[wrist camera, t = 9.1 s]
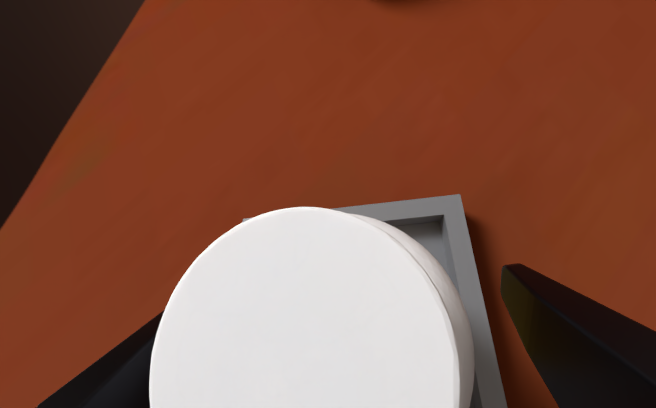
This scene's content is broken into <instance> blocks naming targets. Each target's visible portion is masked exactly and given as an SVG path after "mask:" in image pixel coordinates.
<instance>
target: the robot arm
mask: <svg viewBox="0 0 656 408" xmlns="http://www.w3.org/2000/svg"><path fill="white" fill-rule="evenodd" d="M501 295H502V298H503V301H504V303H505V305H506V307H507V309H508V312H509V314H510V316H511V318H512V320H513V323H514V325H515V327H516V329H517V331H518V334H519V336H520V338H521V340H522V342H523V345H524V347H525V349H526V351H527V353H528V354H529V356H530V358H531V360H532V362H533V363H534V365H535V367H536V368H537V370H538V372H539V374H540V375H541V377H542V379H543V380H544V382H545V384H546V385H547V387H548V389H549V391H550V392H551V394H552V396H553V397H554V399H555V401H556V402H557V404H558V406H559V408H656V331H654V330H652V329H650V328H648V327H646V326H644V325H642V324H640V323H638V322H636V321H634V320H632V319H630V318H628V317H626V316H624V315H622V314H620V313H618V312H616V311H614V310H612V309H610V308H608V307H606V306H604V305H602V304H600V303H598V302H596V301H594V300H592V299H590V298H588V297H586V296H584V295H582V294H580V293H578V292H576V291H574V290H572V289H570V288H568V287H566V286H564V285H562V284H560V283H558V282H556V281H554V280H552V279H550V278H548V277H546V276H544V275H542V274H540V273H538V272H536V271H534V270H532V269H530V268H528V267H526V266H524V265H522V264H509V265H505V266H503V268H502V274H501ZM164 311H165V310H164ZM164 311H162V312H161V313H160V314H158V315H157V316H156V317H154V318H153V319H152V320H151V321H149V322H148V323H147V324H145V325H144V326H143V327H141V328H140V329H139V330H137V331H136V332H135V333H133V334H132V335H131V336H129V337H128V338H127V339H125V340H124V341H123V342H121V343H120V344H119V345H117V346H116V347H115V348H113V349H112V350H111V351H109V352H108V353H107V354H105V355H104V356H103V357H101V358H100V359H99V360H97V361H96V362H95V363H93V364H92V365H91V366H89V367H88V368H87V369H85V370H84V371H83V372H81V373H80V374H79V375H77V376H76V377H75V378H73V379H72V380H71V381H69V382H68V383H67V384H65V385H64V386H63V387H61V388H60V389H59V390H57V391H56V392H55V393H53V394H52V395H51V396H49V397H48V398H47V399H46V400H44V401H43V402H42V403H40V404H39V405H38V406H37V408H150V400H149V379H150V365H151V356H152V350H153V346H154V342H155V338H156V333H157V330H158V327H159V325H160V322H161V319H162V316H163V313H164Z"/></svg>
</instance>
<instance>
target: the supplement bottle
mask: <svg viewBox="0 0 656 408" xmlns="http://www.w3.org/2000/svg"><path fill="white" fill-rule="evenodd" d="M474 369H475V359H474V344H473V339H472V333H471V328H470V324H469V320H468V316H467V313H466V311H465V308H464V305H463V302H462V300H461V298H460V295H459V293H458V291H457V289H456V287H455V286H454V284H453V282H452V280H451V279H450V277H449V276H448V274H447V273H446V271H445V270H444V268H443V267H442V266H441V265H440V263H439V262H438V261H437V260H436V259H435V258H434V257H433V256H432V254H431V253H430V252H429V251H428V250H426V249H425V248H424V247H423V246H422V245H421V244H419V243H418V242H417V241H415V240H414V239H413V238H411V237H410V236H408V235H407V234H406V233H404V232H402V231H401V230H399V229H397V228H395V227H393V226H391V225H389V224H387V223H385V222H382V221H379V220H377V219H374V218H370V217H366V216H362V215H357V214H349V213H344V212H341V211H336V210H331V209H326V208H318V207H295V208H287V209H281V210H276V211H271V212H268V213H265V214H261V215H259V216H256V217H254V218H251V219H249V220H247V221H245V222H243V223H241V224H239V225H237V226H235V227H234V228H232V229H231V230H229V231H228V232H226V233H225V234H224V235H222V236H221V237H219V238H218V239H217V240H215V241H214V242H213V243H212V244H211V245H210V246H209V247H208V248H207V249H206V250H204V251H203V252H202V253H201V254H200V255H199V256H198V257H197V258H196V260H195V261H194V262H193V264H192V265H191V266H190V267H189V269H188V270H187V271H186V273H185V274H184V275H183V277H182V278H181V280H180V281H179V283H178V285H177V286H176V288H175V290H174V292H173V294H172V295H171V298H170V300H169V302H168V304H167V306H166V309H165V311H164V313H163V316H162V319H161V322H160V325H159V327H158V330H157V333H156V338H155V342H154V346H153V350H152V356H151V365H150V379H149V400H150V408H469V407H470V402H471V397H472V391H473V384H474Z"/></svg>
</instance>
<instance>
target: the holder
mask: <svg viewBox="0 0 656 408" xmlns="http://www.w3.org/2000/svg"><path fill="white" fill-rule="evenodd" d="M331 210H336V211H341V212H344V213H349V214H357V215H362V216H366V217H370V218H374V219H377V220H379V221H382V222H385V223H387V224H389V225H391V226H393V227H395V228H397V229H399V230H401V231H402V232H404V233H406V234H407V235H408V236H410V237H411V238H413V239H414V240H415V241H417V242H418V243H419V244H421V245H422V246H423V247H424V248H425V249H426V250H428V251H429V252H430V253H431V254H432V256H433V257H434V258H435V259H436V260H437V261H438V262H439V263H440V265H441V266H442V267H443V268H444V270H445V271H446V273H447V274H448V276H449V277H450V279H451V280H452V282H453V284H454V286H455V287H456V289H457V291H458V293H459V295H460V298H461V300H462V302H463V305H464V308H465V311H466V313H467V316H468V320H469V324H470V328H471V333H472V339H473V344H474V359H475V369H474V384H473V391H472V397H471V402H470V407H469V408H507V403H506V399H505V394H504V390H503V385H502V381H501V376H500V372H499V367H498V363H497V358H496V354H495V349H494V345H493V340H492V336H491V331H490V327H489V322H488V318H487V313H486V309H485V304H484V300H483V295H482V291H481V286H480V282H479V277H478V273H477V268H476V264H475V259H474V255H473V250H472V246H471V241H470V236H469V232H468V227H467V223H466V218H465V214H464V209H463V205H462V200H461V196H460V194H457V195H449V196H440V197H431V198H422V199H414V200H405V201H396V202H387V203H379V204H370V205H361V206H352V207H344V208H335V209H331ZM249 219H251V218H247V219H243V222H245V221H247V220H249Z"/></svg>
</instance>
